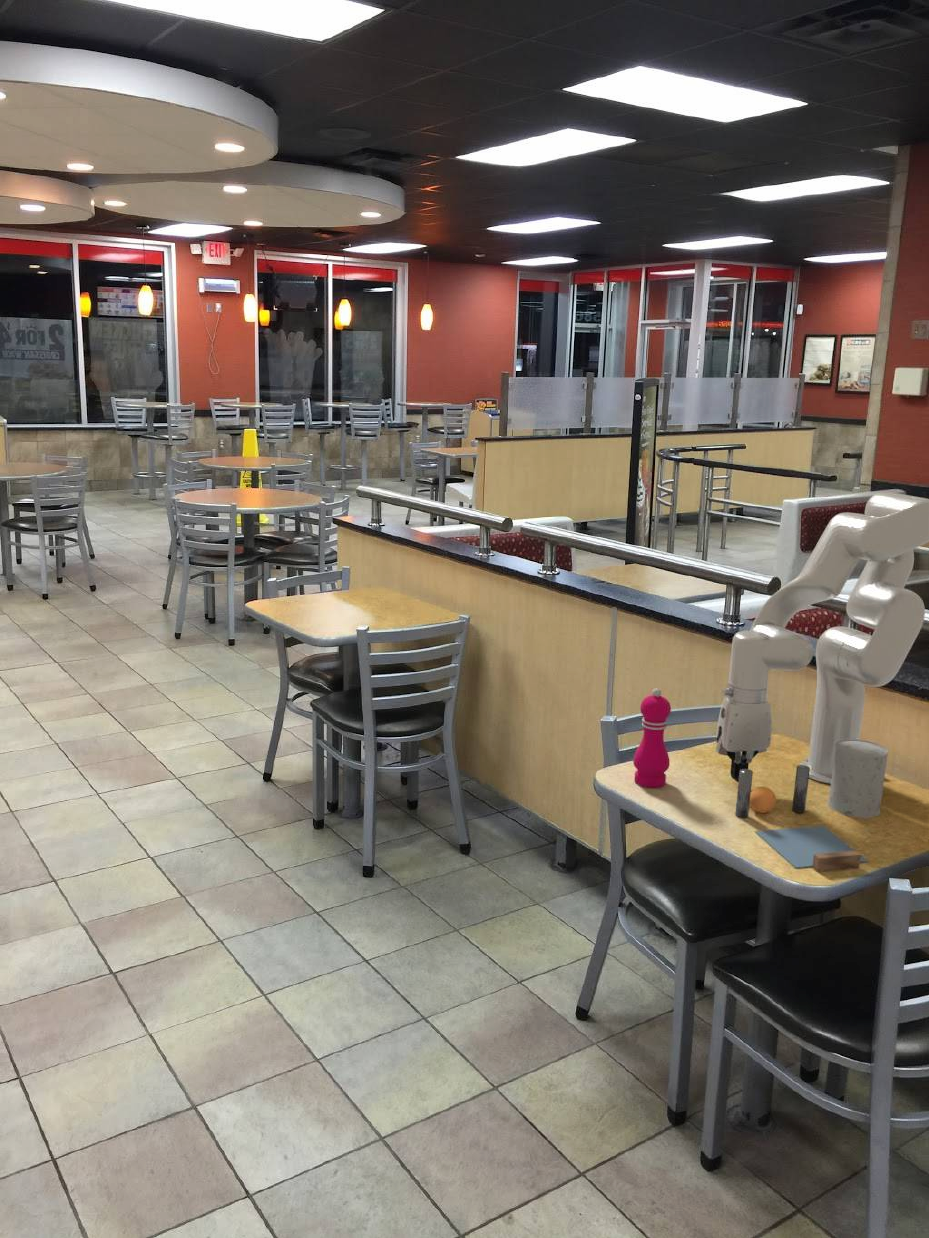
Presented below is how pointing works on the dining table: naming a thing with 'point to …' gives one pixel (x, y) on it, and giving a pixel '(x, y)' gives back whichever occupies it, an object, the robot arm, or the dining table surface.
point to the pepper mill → (652, 742)
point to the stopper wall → (836, 861)
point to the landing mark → (804, 844)
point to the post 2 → (800, 789)
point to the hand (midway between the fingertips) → (738, 779)
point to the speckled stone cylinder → (858, 778)
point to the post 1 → (744, 793)
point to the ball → (762, 799)
